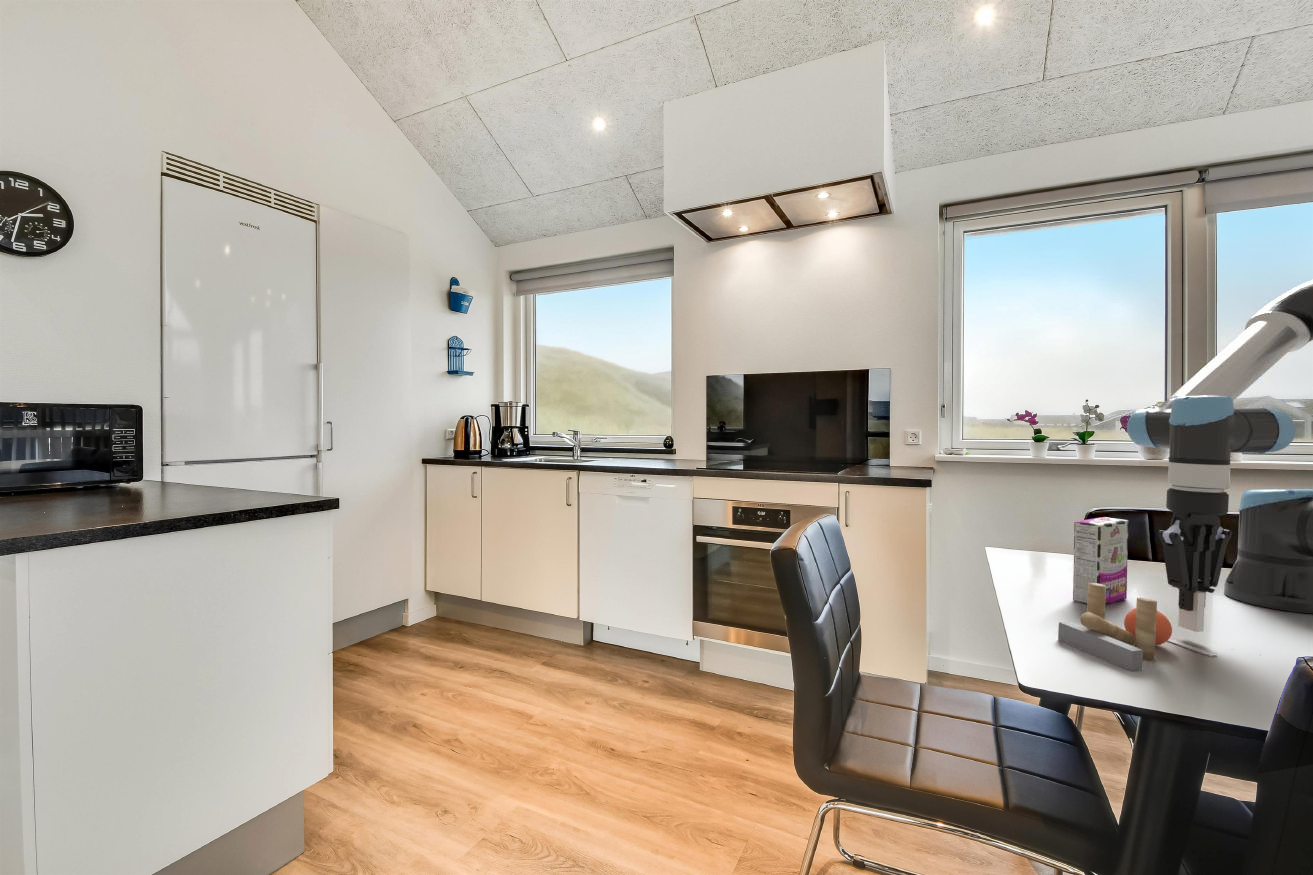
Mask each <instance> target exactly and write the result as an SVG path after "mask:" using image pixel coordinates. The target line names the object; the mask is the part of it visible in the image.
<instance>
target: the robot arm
mask: <svg viewBox="0 0 1313 875" xmlns="http://www.w3.org/2000/svg"><path fill="white" fill-rule="evenodd" d="M1312 341H1313V279H1312V280H1310V281H1307V282H1305V283H1302V284H1300V285H1298V286H1296V287H1294V288H1292V289H1291V290H1289V291H1287V292H1286V293H1283V294H1282V295H1280V296H1278V297H1277V298H1275V299H1274V300H1272V301H1271V302H1269V303H1268V304H1266V305H1264V307H1262V308H1261V309H1260V310H1259V311H1257V313H1255V314H1254V315H1253V316H1251V318H1249V319H1248V320H1247V322H1246V325H1245V327H1244V331H1243V332H1242V333H1240V334H1239V336H1237V337H1236V339H1234V340H1233V341H1232V342H1231V343H1230V344H1229V345H1227V347H1225V348H1224V349H1223V350H1221V352H1219V353H1218V354H1217V355H1216V356H1215V357H1213V358H1212V360H1210V361H1209V362H1208V363H1207V364H1206V365H1205V366H1204V367H1203V368H1201V369H1200V370H1199V371H1197V373H1196V374H1194V375H1193V376H1192V377H1191V378H1190V379H1189V380H1188V381H1187V382H1185V383H1184V384H1183V385H1182V386H1181V387H1180V388H1179V389H1177V391H1175V392H1174V393H1173V394H1172V395H1170V396H1169V398H1168V399H1166V401H1164V402H1163V403H1162V404H1161V405H1159V406H1158V407H1156V408H1153V407H1150V408H1149V407H1148V408H1146V409H1143V408H1142V409H1139V410H1135V411H1134V412H1133V413H1132V414H1131V415H1130V416H1129V418H1128V420H1127V425H1126V431H1127V434H1128V436H1129V438H1130V439H1131V441H1132V442H1133V443H1134V444H1135V445H1138V446H1140V447H1145V448H1146V447H1149V448H1155V449H1169V454H1168V469H1167V470H1168V471H1167V485H1169V486H1171V487H1169V488H1168V489H1166V500H1165V501H1166V502H1165V505H1166V506H1165V507H1166V509H1167V510H1168V511H1171V512H1172V514H1173V515H1172V518H1171V520H1170V526H1169V528H1167V530H1164V529H1163V530H1161V529H1159V530H1158V532H1157V536H1158V538H1159V540H1160V542H1161V544H1162V545H1161V546H1162V551H1163V553H1162V554H1163V557H1164V566H1165V571H1166V579H1167V580H1166V581H1167V583H1168V585H1169V586H1171V587H1172V588H1176V589H1178V603H1177V605H1178V622H1177V623H1178V627H1180V628H1183V629H1186V630H1189V631H1191V632H1195V633H1200V632H1204V621H1205V608H1206V598H1207V597H1206V595H1207V593H1210V594H1212V593H1215V591H1216V588H1217V587H1218V585H1219V580H1220V576H1221V573H1222V567H1223V563H1224V559H1225V554H1226V551H1227V546H1228V543H1229V542H1230V540H1231V538H1232V536H1233V531H1232V530H1230V529H1225V528H1224V527H1222V526H1221V524H1222V523H1221V519H1220V516H1225V515H1227V514H1228V513H1229V500H1230V495H1229V493H1228V492H1227V491H1225V490H1228V489H1230V487H1231V485H1230V484H1231V457H1232V456H1231V454H1239V453H1240V454H1259V455H1261V454H1262V455H1263V454H1265V453H1274V452H1278V451H1282V450H1284V449H1286V448H1287V447H1288V446H1290V445H1291V443H1293V441H1294V439H1295V437H1296V433H1297V429H1296V428H1297V427H1296V424H1295V422H1294V420H1293V419H1292V418H1291V416H1290V415H1288V414H1287V413H1286V412H1283V411H1281V410H1279V409H1273V408H1271V409H1270V408H1266V407H1255V408H1251V407H1250V408H1248V407H1247V408H1245V407H1244V408H1242V407H1241V408H1235V407H1234V401H1235V400H1236V399H1237V398H1238V397H1240V396H1241V394H1243V393H1244V392H1246V390H1248V388H1250V387H1251V386H1252V385H1253V384H1254V383H1255V382H1256V381H1258V380H1259V378H1261V377H1262V376H1263V375H1265V373H1267V372H1268V371H1269V370H1270V369H1271V368H1272V367H1274V365H1275V364H1276V363H1277V362H1279V361H1280V360H1281V359H1283V357H1284V356H1286V355H1287V353H1293V352H1296V351H1298V350H1301V349H1302V348H1304V347H1305V346H1306V345H1307V344H1309V342H1312ZM1238 512H1239V516H1238V535H1237V536H1238V538H1237V539H1238V540H1237V558H1236V560H1235V562H1234V564H1233V566H1232V568H1231V570H1230V572H1229V574H1228V575H1227V577H1226V579H1225V581H1224V584H1223V587H1224V588H1223V593H1224V595H1225V596H1227V597H1229V598H1231V599H1234V600H1237V601H1240V602H1243V603H1245V604H1251V605H1254V606H1259V607H1263V608H1269V609H1272V610H1273V609H1274V610H1278V611H1286V612H1293V613H1301V614H1302V613H1303V614H1313V488H1312V489H1311V488H1309V489H1308V488H1303V489H1302V488H1301V489H1299V488H1294V489H1293V488H1292V489H1291V488H1289V489H1288V488H1283V489H1280V488H1279V489H1278V488H1277V489H1273V488H1272V489H1271V488H1270V489H1269V488H1267V489H1248V490H1246V491H1244V492H1243V493H1242V494H1241V497H1240V503H1239V508H1238Z"/></svg>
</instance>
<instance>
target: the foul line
mask: <svg viewBox="0 0 1313 875" xmlns="http://www.w3.org/2000/svg"><path fill="white" fill-rule="evenodd" d="M1167 642H1168V643H1170V644H1173V645H1176V646H1179V647H1181V648H1185V649H1188V650H1190V651H1193V652H1196V653H1198V654H1202V655H1204V656H1206V657H1210V658H1212V657H1213V658H1214V657H1217V654H1215V653H1212V652H1208V651H1207V650H1204V649H1201V648H1198V647H1194V646H1192V645H1190V644H1186V643H1184V642H1180V641H1178V640H1175V639H1172V638H1171V637H1170V638H1169V640H1168V641H1167Z"/></svg>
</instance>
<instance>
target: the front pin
mask: <svg viewBox="0 0 1313 875" xmlns="http://www.w3.org/2000/svg"><path fill="white" fill-rule="evenodd" d="M1079 621H1080V625H1081V626H1082V627H1085V628H1086V627H1087V628H1089V629H1091V630H1093V631H1095V632H1098V633H1101V634H1103V635H1106V636H1108V637H1111V638H1114V639H1116V640H1119V641H1121V642H1124V643H1126V644H1129V645H1132V646H1135V636H1134V635H1133V634H1132V633H1130V632H1128V631H1126V629H1125V628H1122V627H1121V626H1119V625H1116V624H1114V623H1112V622H1111V621H1108V620H1106V619H1105V620H1104V619H1103V618H1101V617H1099V616H1097V615H1095V614H1093V613H1090V612H1087V611H1086V612H1084V613H1083V614H1081V616H1080V620H1079Z"/></svg>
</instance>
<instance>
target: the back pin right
mask: <svg viewBox="0 0 1313 875" xmlns="http://www.w3.org/2000/svg"><path fill="white" fill-rule="evenodd" d="M1105 599H1106V586H1105V585H1102V584H1098V583H1088V599H1087V604H1086V612H1090V613H1093V614H1095V615H1097V616H1099V617H1101V618H1103V619H1104V620H1106V605H1105ZM1085 628H1087V627H1085ZM1088 629H1089V628H1088ZM1090 630H1091V629H1090Z"/></svg>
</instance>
